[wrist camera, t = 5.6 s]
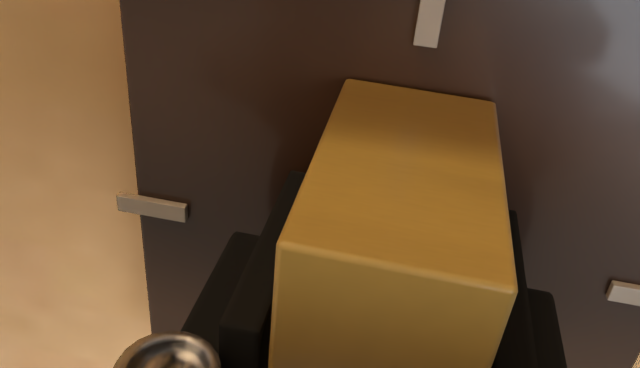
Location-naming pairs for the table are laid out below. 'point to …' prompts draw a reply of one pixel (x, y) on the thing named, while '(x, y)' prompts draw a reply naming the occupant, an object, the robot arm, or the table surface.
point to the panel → (403, 71)
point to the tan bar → (397, 238)
